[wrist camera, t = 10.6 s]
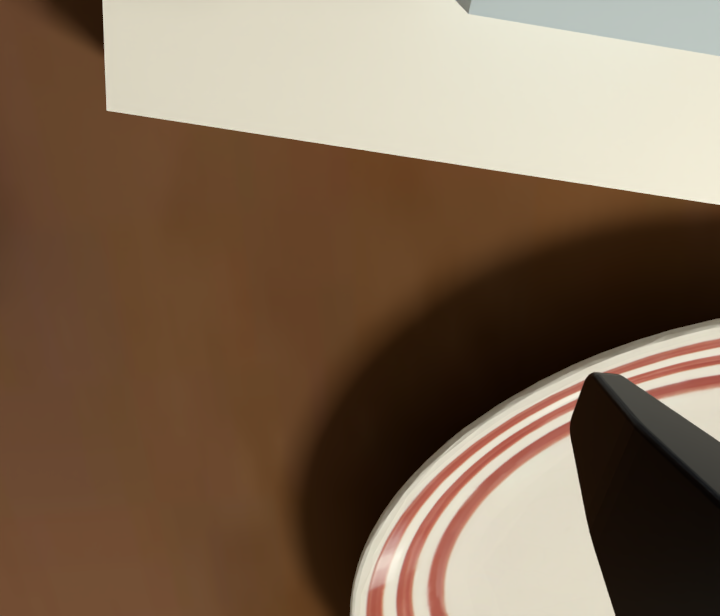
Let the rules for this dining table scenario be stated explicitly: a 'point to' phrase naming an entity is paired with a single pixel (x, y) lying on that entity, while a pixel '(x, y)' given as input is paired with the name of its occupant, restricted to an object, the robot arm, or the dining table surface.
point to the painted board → (425, 87)
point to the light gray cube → (617, 19)
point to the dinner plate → (521, 496)
